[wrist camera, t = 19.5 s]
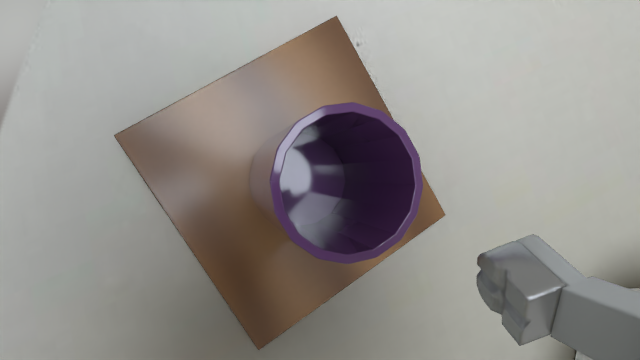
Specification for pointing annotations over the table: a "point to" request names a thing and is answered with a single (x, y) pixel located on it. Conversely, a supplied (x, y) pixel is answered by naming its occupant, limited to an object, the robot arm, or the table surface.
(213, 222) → the mat
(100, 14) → the table surface
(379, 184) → the cup
